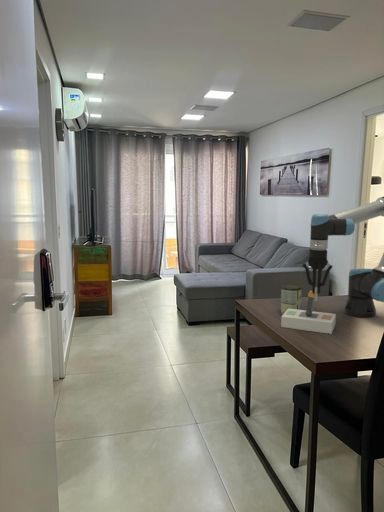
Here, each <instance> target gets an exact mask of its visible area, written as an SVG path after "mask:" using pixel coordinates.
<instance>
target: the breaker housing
mask: <svg viewBox="0 0 384 512" xmlns="http://www.w3.org/2000/svg"><path fill="white" fill-rule="evenodd" d="M305 313H306V310H304V309H301V310H297V309H288V310H287V311H286V312H285V313H284V314H282V316H280V317H281V321H280V325H281V326H280V327H281V328H286V329H293V330H301V331H309V332H315V333H323V334H328V333H329V335H332V334H333V331H334V329H335V326H336V318H337V315H336V313H329V312H321V311H314V310H313V312H312V313H311V315H310V316H307V315H306V314H305Z"/></svg>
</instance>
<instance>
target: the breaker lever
mask: <svg viewBox="0 0 384 512" xmlns="http://www.w3.org/2000/svg"><path fill="white" fill-rule="evenodd" d="M314 297H315V293H312V290H309V292H308V293H307V298H308V299H307V304H306V310H305V311H306V313H305V314H306V315H307V316H310V315H311V313H312V312H313V311H314V303H315V301H314Z"/></svg>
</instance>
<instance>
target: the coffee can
mask: <svg viewBox="0 0 384 512" xmlns="http://www.w3.org/2000/svg"><path fill="white" fill-rule="evenodd" d="M280 286H281V287H280V289H281V290H280V313H281V314H282V315H283V314H284V313H285V312H286V311H287V310H288V309H297V310H302V287H303V286H302V285H299V284H295V283H287V284H286V283H285V284H282V285H280Z"/></svg>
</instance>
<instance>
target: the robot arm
mask: <svg viewBox="0 0 384 512" xmlns="http://www.w3.org/2000/svg"><path fill="white" fill-rule="evenodd" d="M378 217H384V196H381V197H378V198H377V199H376V200H375V201H372V202H368V203H366V204H362V205H358V206H356V207H352V208H350V209H346V210H344V211H340V212H338V213H335V214H331V215H329V214H313V215H312V216H311V219H310V220H311V221H310V239H309V248H310V249H309V254H308V255H309V256H308V259H307V261H306V262H304V263H303V264H302V266H303V268H304V271H305V275H306V278H307V283H308V285H309V286H311V287H312V290H311V291H312V293H315V297H314V302H317V301H318V297H319V296H318V295H319V294H320V293H321V287H324V286H326V283H327V279H328V276H329V274H330V272H331V269H333V267H334V266H333V265H332V264H330V263H329V261H328V250H327V249H328V247H329V246H328V245H329V244H328V243H329V236H331V237H332V236H345V237H346V236H351V235H352V234H354V232H355V229H356V227H355V226H356V225H355V224H359V223H362V222H365V221H369V220H371V219H372V220H373V219H374V218H378ZM325 267H326V270H325V274H324V276H323V275H322V273H323V269H324V268H325ZM310 268H311V269H312V276H311V272H310ZM317 271H318V272H317ZM322 276H323V279H322ZM347 288H348V291H347V295H348V296H347V299H346V301H345V304H344V306H343V313H344V314H345V315H348V316H351V317H356V318H374V317H375V316H376V315H377V308H376V305H375V303H374V302H375V301H377V302H381V303H384V252H383V254H382V256H381V258H380V261H379V263H378V265H377V266H375V267H373V268H352V269H350V270H349V272H348V287H347ZM374 300H375V301H374Z"/></svg>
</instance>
